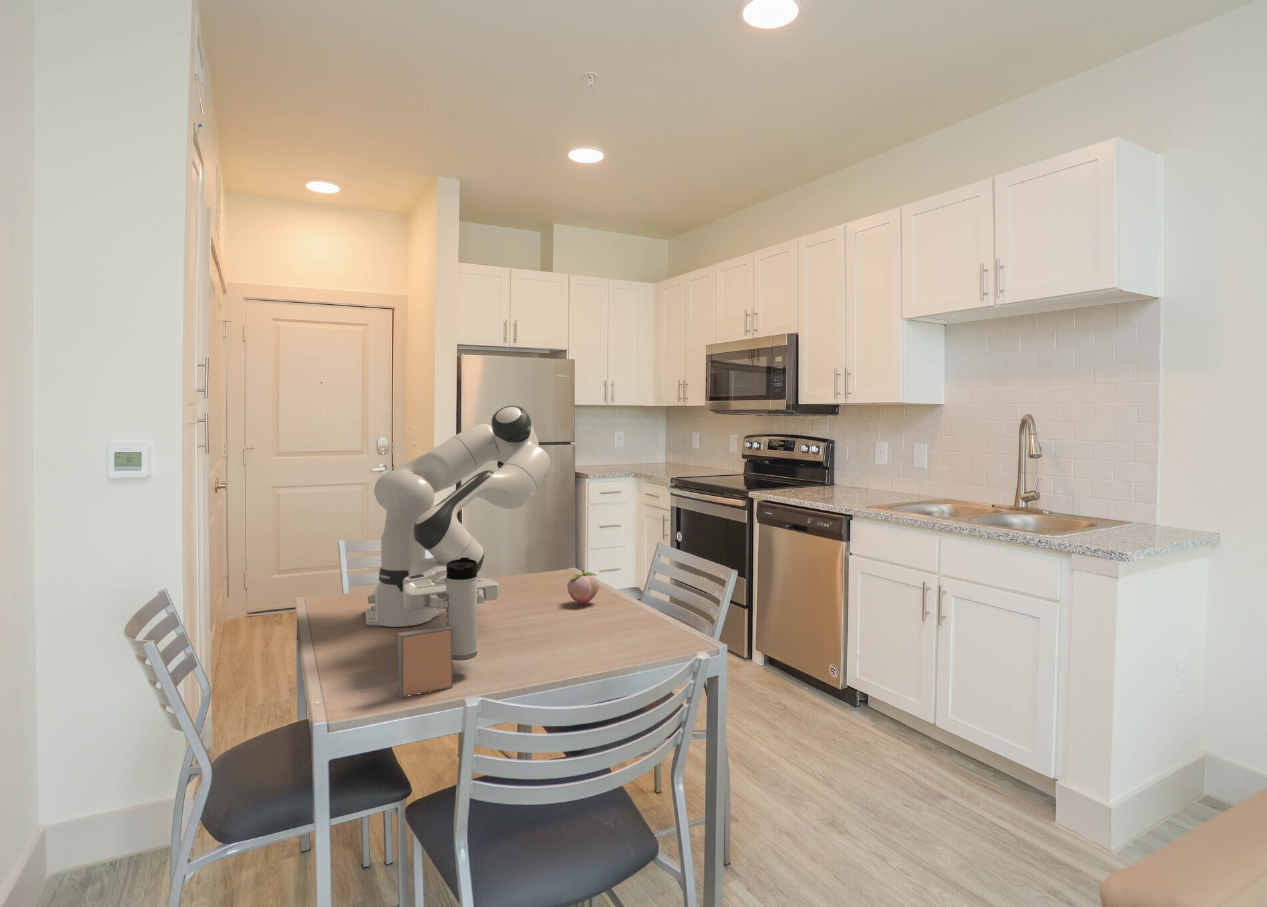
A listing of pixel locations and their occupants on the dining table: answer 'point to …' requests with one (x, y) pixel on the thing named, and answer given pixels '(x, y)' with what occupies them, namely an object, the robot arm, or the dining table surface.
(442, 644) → the tile
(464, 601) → the travel mug
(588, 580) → the decorative fruit
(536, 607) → the dining table surface
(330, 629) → the dining table surface
